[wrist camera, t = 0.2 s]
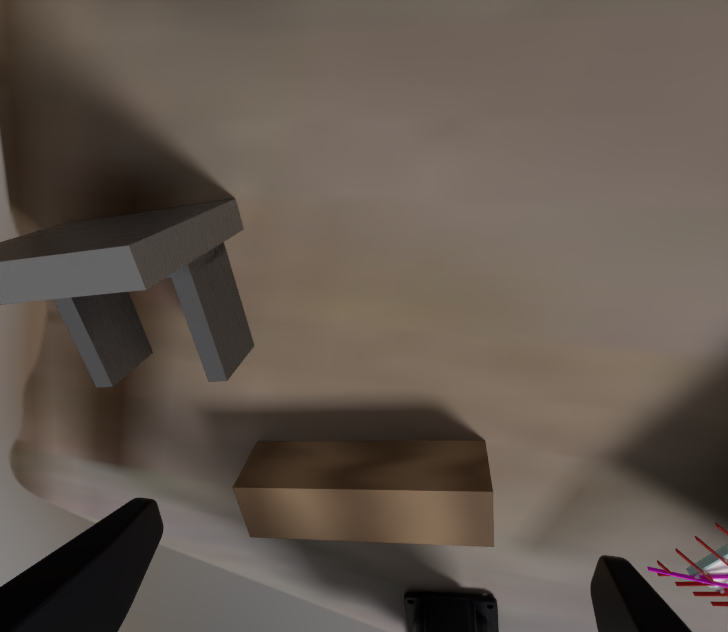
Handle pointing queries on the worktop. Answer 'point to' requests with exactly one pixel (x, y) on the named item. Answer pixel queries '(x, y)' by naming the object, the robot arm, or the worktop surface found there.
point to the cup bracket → (134, 283)
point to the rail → (369, 492)
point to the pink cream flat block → (704, 572)
